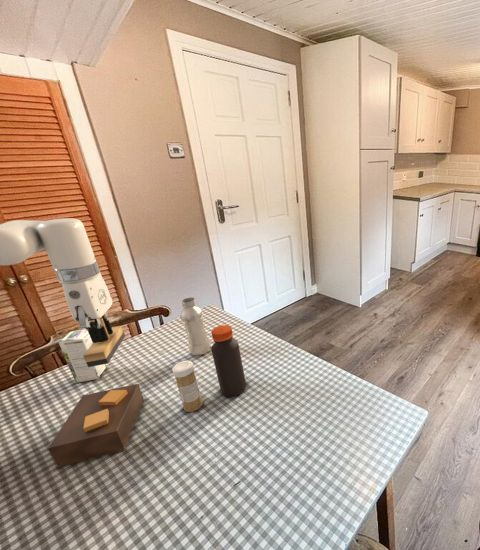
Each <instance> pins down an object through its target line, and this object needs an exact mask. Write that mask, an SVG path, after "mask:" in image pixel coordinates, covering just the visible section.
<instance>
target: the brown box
mask: <svg viewBox="0 0 480 550" xmlns="http://www.w3.org/2000/svg"><path fill="white" fill-rule="evenodd" d="M110 390H127V393H128V394H127V395H126V396H125V397H124V398H123V399H122V400H121V401H120V402H119V403H118V404H117V405H99V401H100V400H101V399H102V398H103V397H104V396H105V395H106V394H107V393H108V392H109V391H110ZM144 399H145V398H144V396H143V393H142V389H141V387H140V385H139V383H136V384H131V385H130V384H129V385H126V386H120V387H116V388H112V389H106V390H102V391H97V392H92V393H88V394H83V395H82V396H81V397H80V399H79V400H78V402H77V403H76V404H75V407H74V408H73V410H72V411H71V412H70V414H69V416H68V417H67V418H66V420H65V421H64V423H63V424H62V426H61V428H60V429H59V431H58V432H57V434H56V435H55V436H54V438H53V440H52V441H51V443H50V444H49V446H48V447H47V451H48V452H49V454H50V456H51V457H52V459H53V461H54V463H55V465H56V466H57V468H58V469H60V468H65V467H67V466H71V465H74V464H75V465H76V464H78V463H82V462H86V461H90V460H94V459H97V458H101V457H104V456H107V455H112V454H114V453H120V452H123V451H125V450H126V449H127V445H128V443H129V440H130V438H131V436H132V432H133V430H134V428H135V425H136V423H137V420H138V418H139V415H140V413H141V410H142V408H143V405H144V403H145V400H144ZM105 409H108V411H109V418H108V424H106V425H103V426H100V427H98V428H95V429H92V430H90V431H87V432H85V431H84V429H83V427H84V422H85V417H86V416H88V415H91V414H94V413H97V412H100V411H102V410H105Z"/></svg>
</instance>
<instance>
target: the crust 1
mask: <svg viewBox="0 0 480 550" xmlns="http://www.w3.org/2000/svg"><path fill="white" fill-rule="evenodd" d="M108 418H109V411H108V409H105V410H102V411H100V412H97V413H94V414H91V415H88V416H86V417H85V422H84V427H83V429H84V431H85V432H87V431H90V430H92V429H95V428H98V427H100V426H103V425H106V424H108Z"/></svg>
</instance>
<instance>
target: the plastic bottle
mask: <svg viewBox="0 0 480 550" xmlns="http://www.w3.org/2000/svg"><path fill="white" fill-rule="evenodd" d="M181 306H182V308H183V309H182V310H181V313H180V316H179V318H180V321H181V324H182V325H183V327H184V330H185V332H186V335H187V342H188V344H187V345H188V347H187V348H188V351H189V353H190V354H191V355H193V356H202V355H204V354H207V353H208V352H209V351H210V350H211V341H210V339H209V336H208V334H207V331H206V328H205V323H204V312H203V310H202V308H200V307H199V306H198V305H197V301H196V299H195V297H186V298H183V299H182V300H181Z"/></svg>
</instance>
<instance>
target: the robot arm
mask: <svg viewBox="0 0 480 550" xmlns="http://www.w3.org/2000/svg"><path fill="white" fill-rule="evenodd" d="M42 251H45V252H46V255H47V258H48V260H49V262H50V264H51V266H52V270H53V271H54V274H55V276H56V279H57V281H58V283H59V284H61V286H62V290H63V294H64V298H65V302H66V304H67V307H68V310H69V312H70V314H71V317H72V318H73V319H72V320H74V321H75V322H76V323H79V324H78V325H79V328H80V329H85V330H88V332H89V335H90V337H91V340H92V342H93V343H97V342H103V341H107V340H108V339H109V338H108V335H107V333H106V330H105V327H104V326H102V325H101V322H100V318H101V317H102V318H103V321H104V323H105V326H106V329H107V331H108V334H109V335H110V334H112V333H113V330H112V327H113V326H112V325H111V322H110V319H109V315H108V313H107V312H108V311H109V309H110V308H111V307H112V305H113V303H114V302H113V298H112V296H111V292H110V291H109V288H108V286H107V284H106V281H105V279H104V277H103V276H102V274H101V273H102V272H101V270H100V268H99V265H98V261H97V259H96V256H95V253H94V250H93V247H92V245H91V243H90V239H89V236H88V234H87V231H86V228H85V226H84V223H83V222H82V221H81V219H78V218H73V217H65V218H63V217H62V218H54V219H48V220H30V219H29V220H28V219H17V220H10V221H6V222H3V223H0V266H13V265H17V264H20V263H23V262H24V261H27V259H29V258H30V257H32V256H33V255H36V254H37V253H40V252H42ZM91 320H95V322H90V321H91Z"/></svg>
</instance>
